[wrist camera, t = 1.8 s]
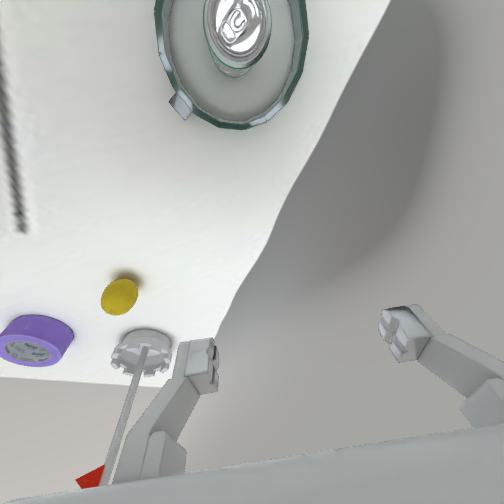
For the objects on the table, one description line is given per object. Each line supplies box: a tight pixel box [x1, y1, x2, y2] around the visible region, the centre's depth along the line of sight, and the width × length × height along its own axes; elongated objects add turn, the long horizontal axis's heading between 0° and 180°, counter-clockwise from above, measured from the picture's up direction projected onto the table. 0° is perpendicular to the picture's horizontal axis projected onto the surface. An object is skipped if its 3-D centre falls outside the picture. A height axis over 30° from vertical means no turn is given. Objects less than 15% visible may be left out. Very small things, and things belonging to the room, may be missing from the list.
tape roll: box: [0, 315, 74, 367], centre depth 47 cm, size 12×12×5 cm
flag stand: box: [76, 329, 172, 489], centre depth 43 cm, size 13×13×30 cm
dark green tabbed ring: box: [154, 0, 309, 130], centre depth 24 cm, size 15×18×3 cm
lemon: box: [101, 279, 138, 315], centre depth 40 cm, size 6×6×8 cm
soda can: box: [203, 0, 272, 77], centre depth 20 cm, size 5×5×12 cm
